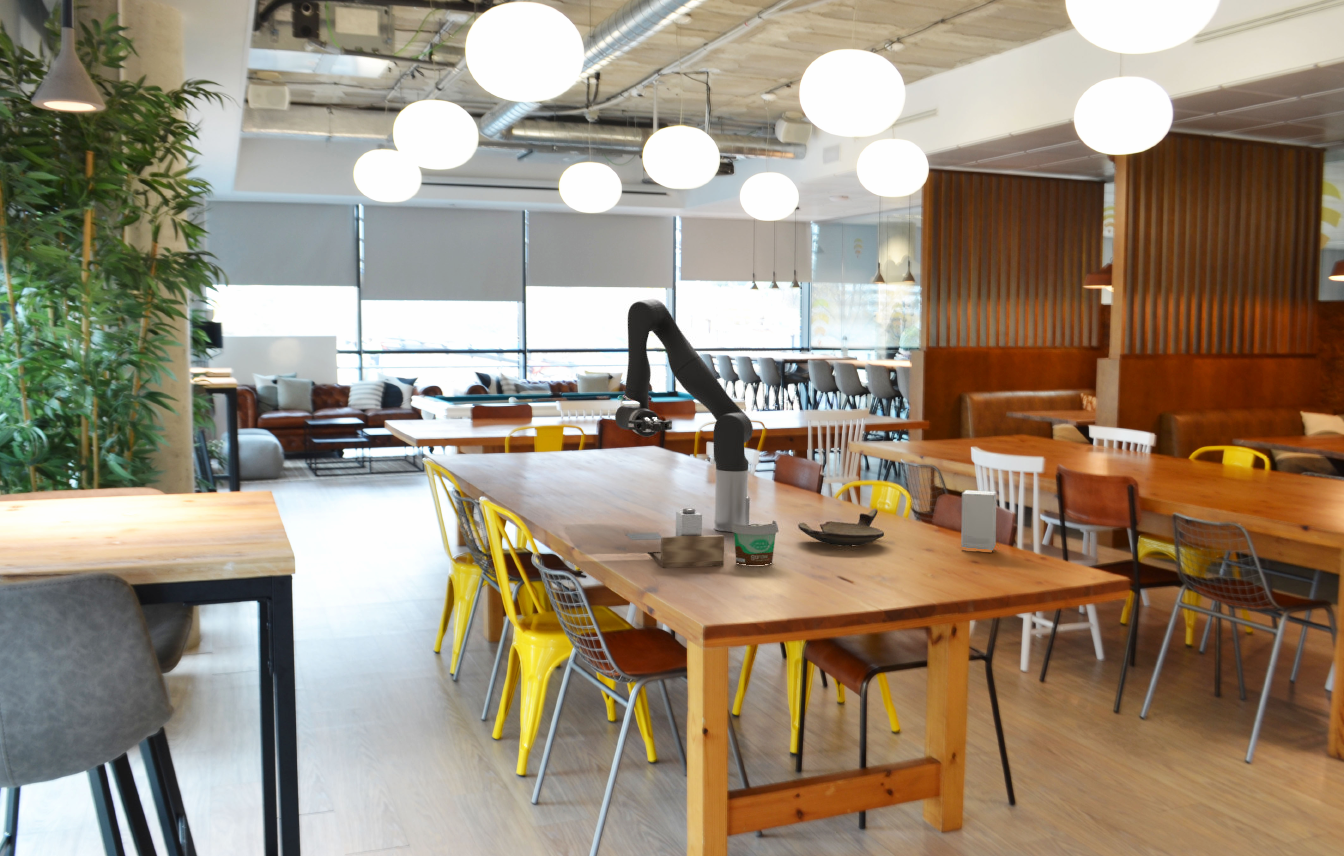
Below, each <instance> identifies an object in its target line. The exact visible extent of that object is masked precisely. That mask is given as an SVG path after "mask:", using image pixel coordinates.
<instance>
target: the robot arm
mask: <svg viewBox="0 0 1344 856" xmlns="http://www.w3.org/2000/svg"><path fill="white" fill-rule="evenodd" d="M650 332H652V333H653V334H654V335H655V336H656V337H657V338H658V340H659V341H660V342H661V344H662V346H663V347H664V348H665V352H666V356H667V360H668V364H669V368H670V370H671V373H672V374H673V376H674V377H675V378H676V380H677V381H678V382H679V384H680V385H681V387H683V389H684V390H685V392H687V393H688V394H689V395H690V396H691V397H692V398H694V399H695V400H696V401H698V402H699V403H700V404H702V405H703V406H704V407H705V408H706V409H707V410H708V411H709V412H710V413H711V414H712V416H713V418H714V419H715V420H716V421H715V424H714V426H713V436H712V437H713V441H712V442H713V459H714V462H715V484H714V485H715V488H714V489H715V490H714V492H715V493H714V494H715V495H714V522H713V523H714V529H715V530H716V531H720V532H730V533H731V532H732V528H733V526H734V523H735V524H739V525H750V507H751V506H750V501H751V498H750V496H748V495H749V493H748V490H749V489H748V488H749V459H747V457H746V455H745V444H746V443H747V442H748V441H750V440H751V438H752V436H753V434H754V433H753V432H754V427H753V423H752V421H751V419H750V418H749V416H748V415H747V414H746V413H745V412H744V411H743V410H742V409H741V408H740V407H739V405H737V404H736V403H735V401H733V399H732V398H731V397H730V396H729V394H728V393H727V392H726V390H725V389H724V388H723V386H722V385H721V383H720V382H719V380H718V379H717V377H716V376H715V374H713V372H712V371H711V369H710V367H708V365H707V363H706V362H705V361H704V360H703V358H702V357H701V356H700V355H699V353H698V352H697V351H696V350H695V348H694V347H693V346H692V344H691V343H690V342H689V340H688V339H687V338H686V336H685V335H684V334H683V333H682V330H681V329H680V327H679V326H678V324H677V323H676V321H675V319H674V318H673V316H672V314H671V312H670V310H669V309H668V308H667V306H666V305H665V304H664V303H663V302H662V301H660V300H658V299H655V298H651V299H642V300H638V301H635V302H634V303H632V304H631V305H630V307H629V309H628V313H627V347H628V348H627V349H628V351H627V353H628V354H627V355H628V360H627V361H628V362H627V372H626V381H625V387H624V395H625V397H626V398H627V399H629V400H631V401H635V402H637V403H639V406H638V405H625V404H624V405H623V404H622V405H620V406H619V407H618V408H617V409H616V412H615V415H614V418H615V419H614V420H615V423H616V426H617V427H618V428H620V429H622V430H630V431H633V432H634V433H635V434H637V435H639V436H641V437H645V438H646V437H647V438H648V437H649V438H650V437H652V436H655V435H656V434H657V433H660V431H661V432H665V431H671V430H673V420H671V419H669V420H664V421H663V420H662V419H660V417H659V415H658V414H657V413H656V412H655V411H653V410H650V406H649V390H650V383H651V365H650V361H649V357H648V351H647V346H648V345H647V344H648V339H649V338H648V337H649V334H650ZM732 533H733V532H732Z"/></svg>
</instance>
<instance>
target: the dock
mask: <svg viewBox="0 0 1344 856" xmlns="http://www.w3.org/2000/svg"><path fill="white" fill-rule="evenodd" d="M647 553H648V554H649V556H650V557H652V559H654V560H655V562H656V563H657V564H659V566H661V567H662V568H663V567H668V568H686V567H685V566H698V567H711V566H710V565H724V564H725V562H724V560H725V556H724V555H725V554H724V553H725V536H724V535H723V534H720V535H719V534H718V535H717V534H716V535H714V534H713V535H702V536H676V535H675V536H662V538H661V539H660V551H649V552H648V551H647Z"/></svg>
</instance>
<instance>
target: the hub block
mask: <svg viewBox="0 0 1344 856" xmlns="http://www.w3.org/2000/svg"><path fill="white" fill-rule="evenodd" d="M702 530H703V514H702V513H700V512H699V511H697V510H696V509H695V508H687V507H686V508H683V509H682V510H676V511H675V536H703V532H702Z"/></svg>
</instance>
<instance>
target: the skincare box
mask: <svg viewBox="0 0 1344 856" xmlns="http://www.w3.org/2000/svg"><path fill="white" fill-rule="evenodd" d="M996 529H997V491H991V490H990V491H989V490H987V491H985V490H972V489H970V490H969V489H968V490H967V489H965V491H964V492H962V493H961V535H960V537H961V538H960V541H961V543H960V544H961V547H966V548H977V549H989V550H993V549H994V547H995V545H996V543H997V542H996V541H997V540H996V539H997V538H996V537H997V535H996V534H997V530H996Z"/></svg>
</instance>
